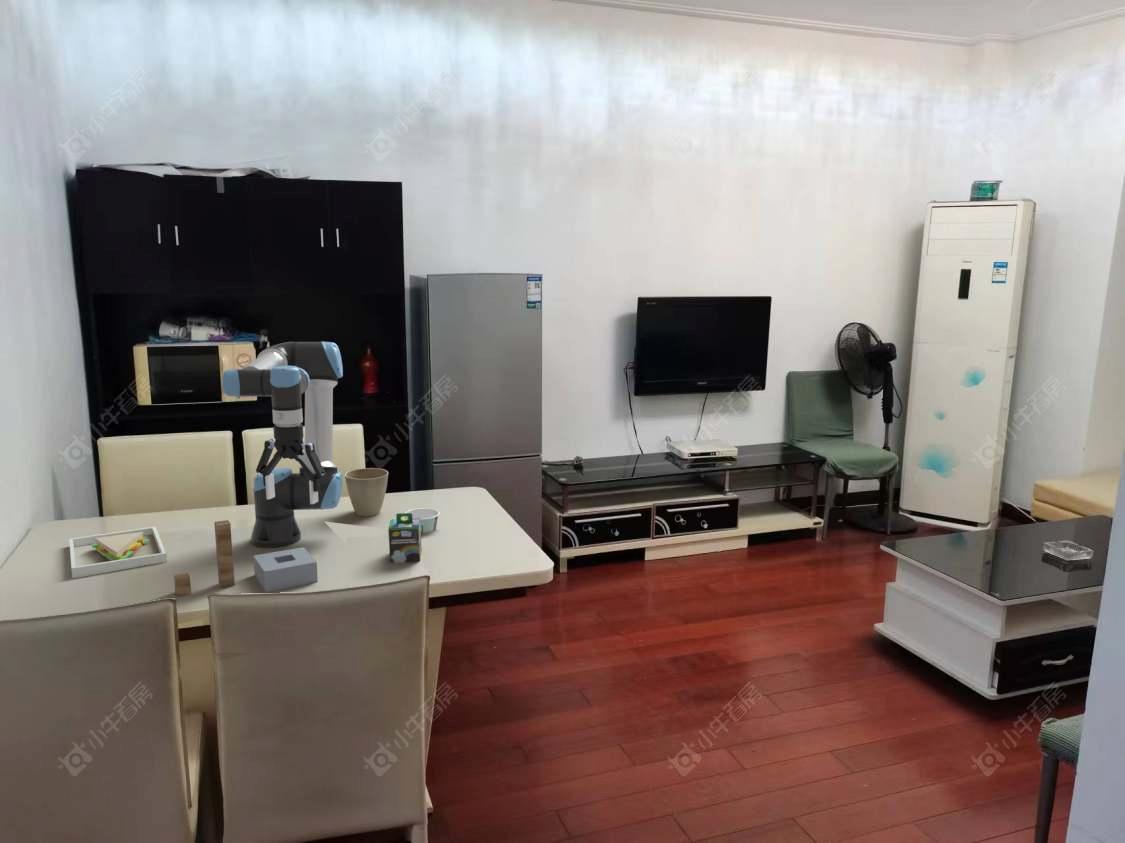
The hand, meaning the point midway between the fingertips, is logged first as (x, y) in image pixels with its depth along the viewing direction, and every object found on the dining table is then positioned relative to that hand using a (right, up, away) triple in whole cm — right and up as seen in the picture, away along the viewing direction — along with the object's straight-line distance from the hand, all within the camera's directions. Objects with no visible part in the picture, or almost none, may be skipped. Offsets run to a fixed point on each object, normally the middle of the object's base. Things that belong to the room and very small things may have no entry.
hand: (292, 500), depth 216 cm
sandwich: (-62, -20, +24) cm, 69 cm away
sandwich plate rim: (-62, -19, +25) cm, 69 cm away
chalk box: (+26, -20, +25) cm, 42 cm away
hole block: (-5, -23, +8) cm, 25 cm away
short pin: (-29, -25, -2) cm, 38 cm away
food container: (+26, -16, +50) cm, 59 cm away
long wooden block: (-19, -24, +4) cm, 31 cm away
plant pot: (+5, -12, +65) cm, 67 cm away
